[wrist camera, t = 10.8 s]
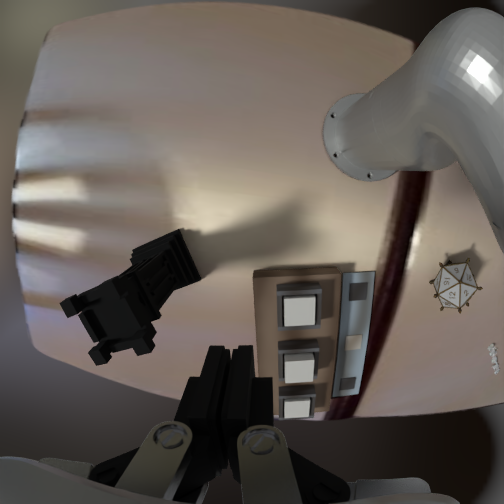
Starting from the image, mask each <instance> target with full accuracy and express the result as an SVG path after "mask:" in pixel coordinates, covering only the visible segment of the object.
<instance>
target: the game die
mask: <svg viewBox="0 0 504 504" xmlns="http://www.w3.org/2000/svg"><path fill="white" fill-rule="evenodd" d="M469 261H470V258H468V259H467V260H466V262H464V263H454V264H451V263H452V262H451V261H450V260H449V264H448V265H445V266H443V264H442V263H440V262H439V266H440V267H442V268H441V269H440V271H439V273H438V275H437V277H436V278H435V280H434V282H433V281H430V282H429V283H430V284H434V287H435V290H436V293H437V294H434V297H435V298H436V297H437V296H438V298H439V300H440V302H441V304H442V307H441V308H440V311H442V310H443V309H444V307H447V308H457V309H459V310H458V312H459V313H460V314H461V307H463V306H464V305H465V304H466V305H467V306H469V303H468V301H469V300H470V298H471V297H472V296H473V295H474V293H475V292H476V291H477V289H478V290H481V289H483V288H482V287H478V286H477V284H476V281H475V279H474V275H473V274H472V272H471V269H470V267H469V265H468V262H469Z"/></svg>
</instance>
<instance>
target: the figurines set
mask: <svg viewBox="0 0 504 504" xmlns="http://www.w3.org/2000/svg"><path fill="white" fill-rule="evenodd" d="M494 348H496V347H494V344H493V343H492V344H491V345H490V346H489V347H488V350H489V351H491V350H492V349H493V350H492V351H491V352H490V353H489V354H490V356H494V357H492V358H493V359H492V360H491V362H492V363H496V365H494V366H492V367H493V369H494V370H496V369H497V368H498V367H499V365H498V364H497V362H496V361H497V357H496V356H495V353H497V352H495V349H494ZM496 349H497V348H496ZM499 371H500V369H499V368H498V369H497V370H496V371H495V372H494V373H495V374H497V373H498V372H499Z"/></svg>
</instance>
